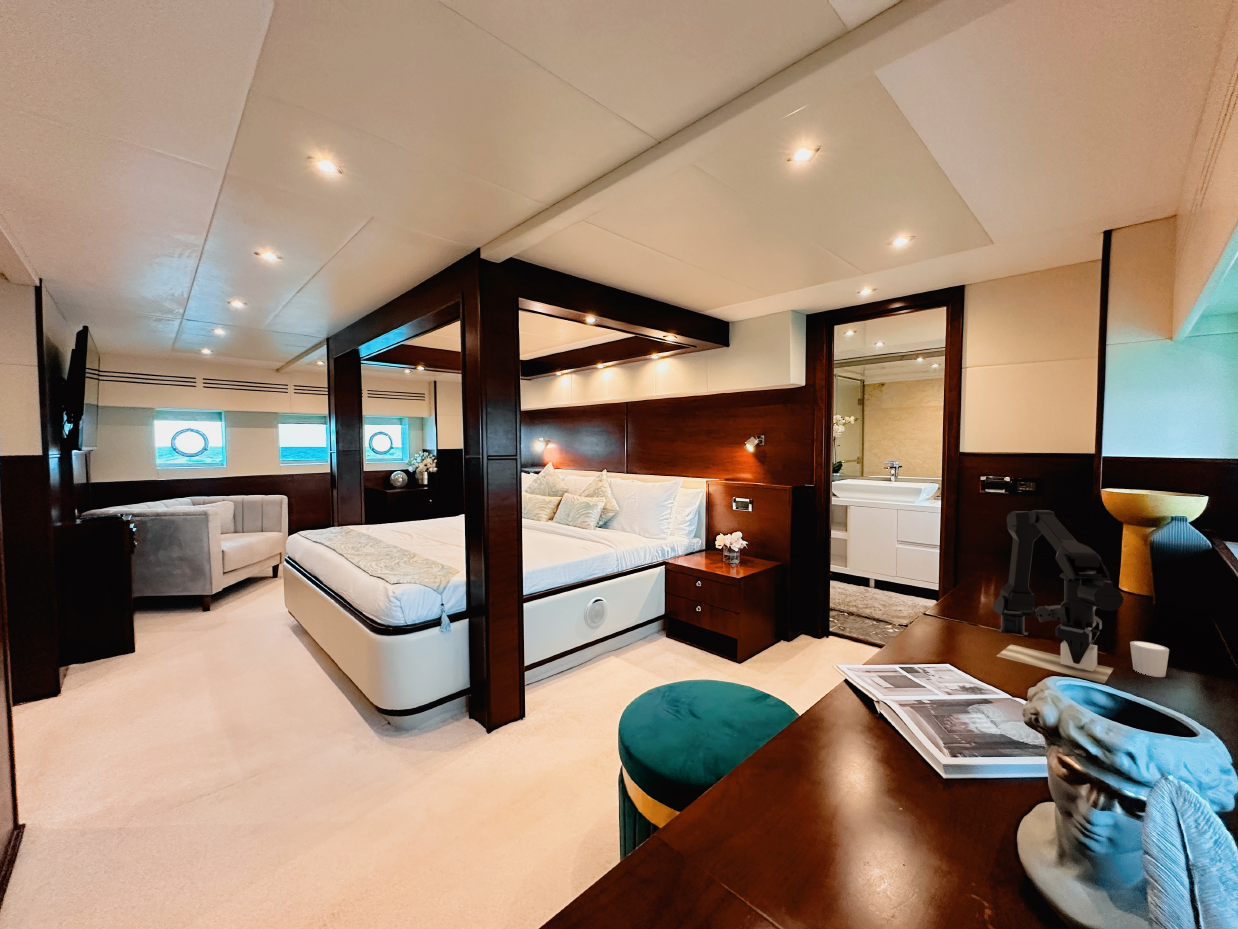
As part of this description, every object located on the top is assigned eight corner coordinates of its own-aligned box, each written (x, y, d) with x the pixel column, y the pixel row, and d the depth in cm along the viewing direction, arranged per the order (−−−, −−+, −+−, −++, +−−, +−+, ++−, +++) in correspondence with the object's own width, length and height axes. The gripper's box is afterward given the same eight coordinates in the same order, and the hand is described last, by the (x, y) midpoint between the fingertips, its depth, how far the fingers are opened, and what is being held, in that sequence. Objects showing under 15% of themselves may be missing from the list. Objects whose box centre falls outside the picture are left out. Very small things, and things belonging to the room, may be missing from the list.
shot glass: (1177, 678, 123) (1177, 650, 123) (1149, 678, 123) (1149, 650, 123) (1148, 667, 130) (1148, 640, 130) (1122, 666, 130) (1122, 640, 130)
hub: (1065, 657, 129) (1065, 638, 129) (1097, 665, 125) (1097, 644, 125) (1060, 663, 126) (1060, 643, 125) (1092, 671, 121) (1092, 650, 121)
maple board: (1010, 649, 141) (1011, 644, 141) (1113, 674, 125) (1113, 668, 125) (996, 661, 133) (996, 655, 133) (1104, 689, 116) (1104, 683, 116)
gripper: (1046, 587, 137) (1046, 643, 137) (1029, 598, 126) (1028, 659, 126) (1102, 596, 128) (1101, 655, 128) (1088, 608, 117) (1088, 674, 117)
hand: (1078, 660), depth 125 cm, fingers closed on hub, 6 cm apart
